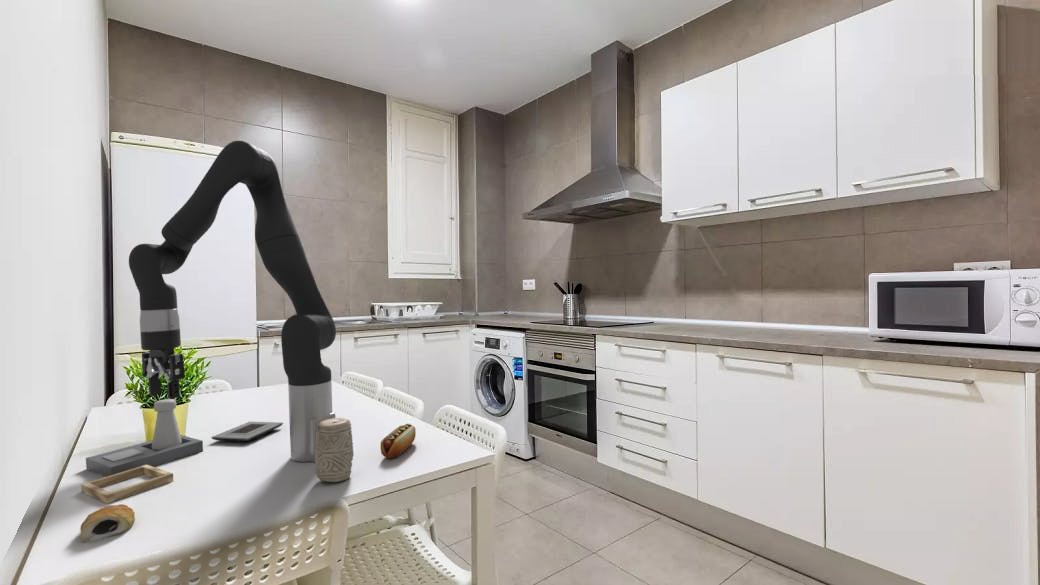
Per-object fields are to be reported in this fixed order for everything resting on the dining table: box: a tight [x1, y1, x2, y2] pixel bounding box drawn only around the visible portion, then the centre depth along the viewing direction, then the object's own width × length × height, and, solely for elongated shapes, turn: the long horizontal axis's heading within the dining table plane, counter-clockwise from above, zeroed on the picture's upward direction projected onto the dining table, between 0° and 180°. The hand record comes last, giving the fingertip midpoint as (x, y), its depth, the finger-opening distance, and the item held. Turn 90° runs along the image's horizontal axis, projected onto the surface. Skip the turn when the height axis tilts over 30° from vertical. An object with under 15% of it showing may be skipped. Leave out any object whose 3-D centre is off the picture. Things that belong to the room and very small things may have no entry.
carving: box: [314, 417, 355, 483], centre depth 97 cm, size 6×8×12 cm
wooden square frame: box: [80, 465, 174, 504], centre depth 96 cm, size 11×11×2 cm
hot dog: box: [380, 423, 417, 459], centre depth 112 cm, size 5×13×5 cm, turn 171°
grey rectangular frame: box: [85, 434, 204, 477], centre depth 110 cm, size 12×18×3 cm, turn 151°
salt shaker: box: [152, 398, 182, 451], centre depth 113 cm, size 6×6×13 cm
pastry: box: [78, 503, 136, 543], centre depth 80 cm, size 9×7×4 cm
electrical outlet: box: [211, 421, 284, 442], centre depth 126 cm, size 13×10×2 cm
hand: (164, 396), depth 113 cm, fingers open, 8 cm apart
